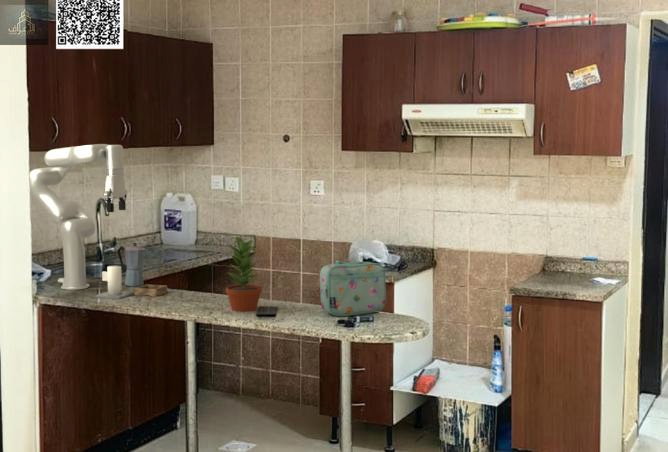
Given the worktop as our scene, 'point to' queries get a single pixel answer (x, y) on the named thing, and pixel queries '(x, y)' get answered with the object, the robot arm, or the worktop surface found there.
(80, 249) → the robot arm
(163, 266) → the worktop surface
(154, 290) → the holder
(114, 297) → the plate
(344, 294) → the lunch box
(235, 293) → the potted plant
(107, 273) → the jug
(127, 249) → the moka pot
